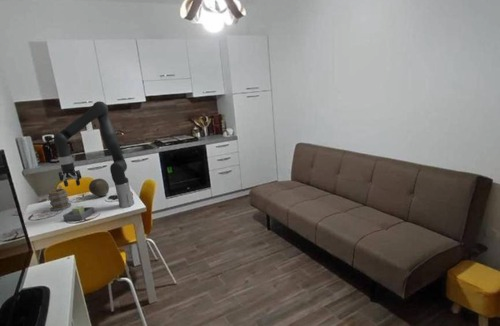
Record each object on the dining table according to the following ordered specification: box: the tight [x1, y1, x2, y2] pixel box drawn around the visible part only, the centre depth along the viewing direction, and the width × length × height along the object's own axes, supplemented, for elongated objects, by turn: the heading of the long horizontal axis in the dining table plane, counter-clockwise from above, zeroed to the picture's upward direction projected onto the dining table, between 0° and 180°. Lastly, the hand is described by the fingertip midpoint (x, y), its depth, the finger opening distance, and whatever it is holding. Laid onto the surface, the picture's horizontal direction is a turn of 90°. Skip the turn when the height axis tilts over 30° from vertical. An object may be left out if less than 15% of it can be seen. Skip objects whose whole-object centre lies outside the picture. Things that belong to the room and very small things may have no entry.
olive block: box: [71, 205, 85, 215], centre depth 206 cm, size 5×5×6 cm
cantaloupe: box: [88, 178, 110, 197], centre depth 246 cm, size 14×14×15 cm
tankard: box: [47, 185, 72, 212], centre depth 231 cm, size 20×13×15 cm, turn 18°
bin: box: [62, 206, 95, 222], centre depth 207 cm, size 13×13×4 cm
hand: (72, 185), depth 204 cm, fingers open, 8 cm apart
